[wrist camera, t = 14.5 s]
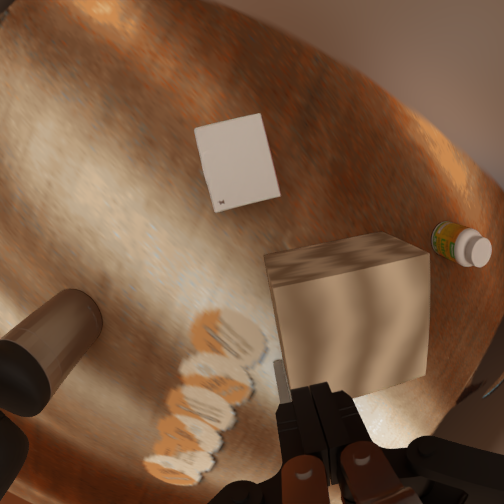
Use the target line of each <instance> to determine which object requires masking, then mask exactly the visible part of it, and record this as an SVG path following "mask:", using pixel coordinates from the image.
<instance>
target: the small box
mask: <svg viewBox="0 0 504 504" xmlns="http://www.w3.org/2000/svg"><path fill="white" fill-rule="evenodd" d="M194 132H195V137H196V142H197V146H198V150H199V155H200V159H201V163H202V168H203V172H204V176H205V180H206V183H207V186H208V190H209V193H210V197H211V201H212V204H213V208H214V211H215V213H219V212H222V211H225V210H229V209H233V208H236V207H240V206H244V205H248V204H251V203H255V202H259V201H263V200H267V199H271V198H276V197H280V196H281V192H280V187H279V183H278V179H277V175H276V170H275V166H274V162H273V158H272V154H271V150H270V146H269V142H268V139H267V135H266V131H265V127H264V123H263V119H262V116H261V113H258V114H253V115H248V116H244V117H239V118H234V119H230V120H226V121H221V122H217V123H213V124H209V125H205V126H201V127H197V128H195V129H194Z"/></svg>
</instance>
